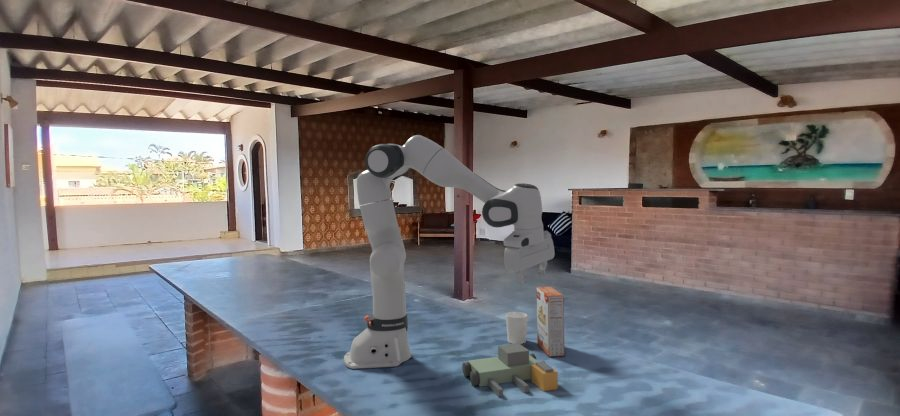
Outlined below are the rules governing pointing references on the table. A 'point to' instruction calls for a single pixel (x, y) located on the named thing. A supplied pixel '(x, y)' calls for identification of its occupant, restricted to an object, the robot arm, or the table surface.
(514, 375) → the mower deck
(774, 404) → the table surface
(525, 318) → the white cup
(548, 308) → the cracker box
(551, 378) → the orange block grey plate
